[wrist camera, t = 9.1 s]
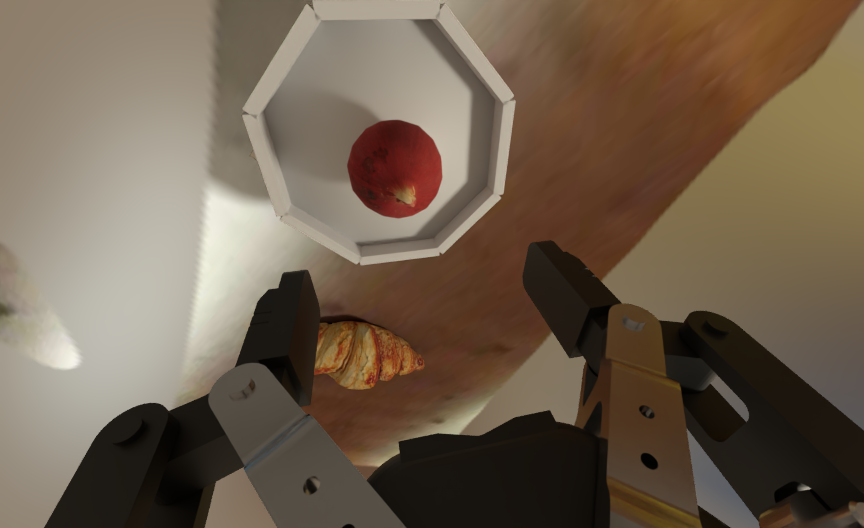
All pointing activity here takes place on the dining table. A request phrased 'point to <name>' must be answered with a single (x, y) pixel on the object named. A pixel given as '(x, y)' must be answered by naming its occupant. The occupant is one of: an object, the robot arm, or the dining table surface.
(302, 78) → the scale
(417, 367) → the croissant
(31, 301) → the dining table surface
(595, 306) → the robot arm
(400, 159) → the onion
